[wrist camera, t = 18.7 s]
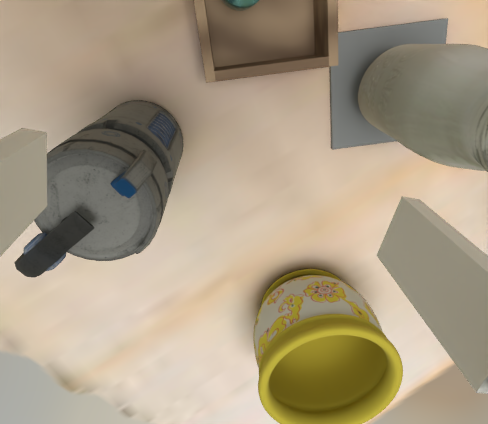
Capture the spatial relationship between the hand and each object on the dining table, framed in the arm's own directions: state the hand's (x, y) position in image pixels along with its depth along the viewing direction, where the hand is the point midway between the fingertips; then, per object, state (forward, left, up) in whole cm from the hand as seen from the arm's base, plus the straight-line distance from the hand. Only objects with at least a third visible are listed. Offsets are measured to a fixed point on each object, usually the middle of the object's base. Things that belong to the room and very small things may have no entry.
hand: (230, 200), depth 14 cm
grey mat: (+2, +21, -36) cm, 41 cm away
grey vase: (+2, +21, -35) cm, 41 cm away
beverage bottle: (+5, -11, -36) cm, 38 cm away
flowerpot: (+34, +9, -36) cm, 50 cm away
